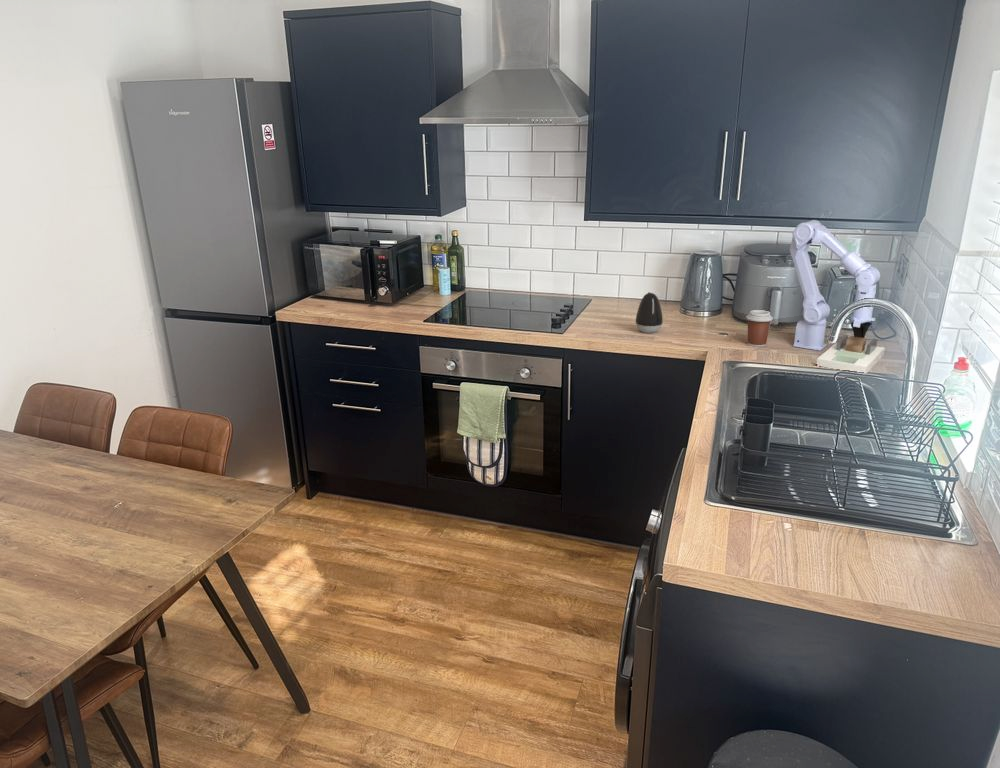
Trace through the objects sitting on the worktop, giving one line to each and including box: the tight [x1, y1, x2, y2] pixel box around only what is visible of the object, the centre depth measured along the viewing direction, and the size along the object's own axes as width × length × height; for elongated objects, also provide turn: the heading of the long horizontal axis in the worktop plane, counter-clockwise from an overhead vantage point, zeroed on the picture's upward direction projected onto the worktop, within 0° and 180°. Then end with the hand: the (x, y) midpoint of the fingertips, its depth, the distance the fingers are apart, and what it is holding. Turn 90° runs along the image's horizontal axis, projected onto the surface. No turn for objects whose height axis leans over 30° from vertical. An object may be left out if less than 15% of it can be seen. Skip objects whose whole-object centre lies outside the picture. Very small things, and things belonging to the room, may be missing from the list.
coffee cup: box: [745, 309, 774, 348], centre depth 264 cm, size 9×9×12 cm
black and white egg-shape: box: [635, 292, 664, 334], centre depth 282 cm, size 10×10×15 cm
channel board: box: [815, 341, 886, 374], centre depth 246 cm, size 15×26×2 cm, turn 142°
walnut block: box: [845, 335, 867, 353], centre depth 248 cm, size 5×5×4 cm
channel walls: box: [836, 334, 878, 355], centre depth 249 cm, size 10×10×3 cm
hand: (858, 343), depth 251 cm, fingers closed
